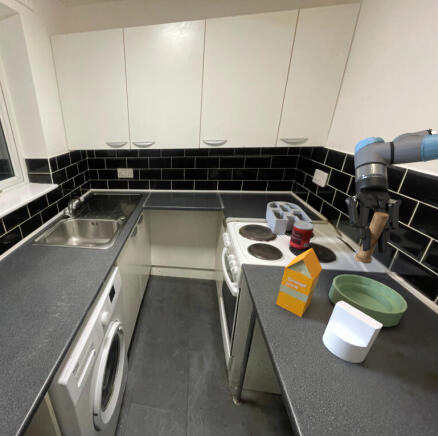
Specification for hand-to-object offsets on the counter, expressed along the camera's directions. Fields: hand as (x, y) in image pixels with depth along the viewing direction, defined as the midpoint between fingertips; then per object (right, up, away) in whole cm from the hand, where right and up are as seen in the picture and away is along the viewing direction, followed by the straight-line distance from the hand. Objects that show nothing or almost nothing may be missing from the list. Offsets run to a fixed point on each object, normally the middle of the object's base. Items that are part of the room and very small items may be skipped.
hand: (374, 250), depth 68 cm
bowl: (+2, -19, +7) cm, 20 cm away
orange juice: (-18, -19, +9) cm, 28 cm away
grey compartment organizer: (+10, +6, +62) cm, 63 cm away
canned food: (+5, -3, +41) cm, 42 cm away
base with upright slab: (-14, -25, -5) cm, 30 cm away
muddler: (+2, -4, +6) cm, 7 cm away
